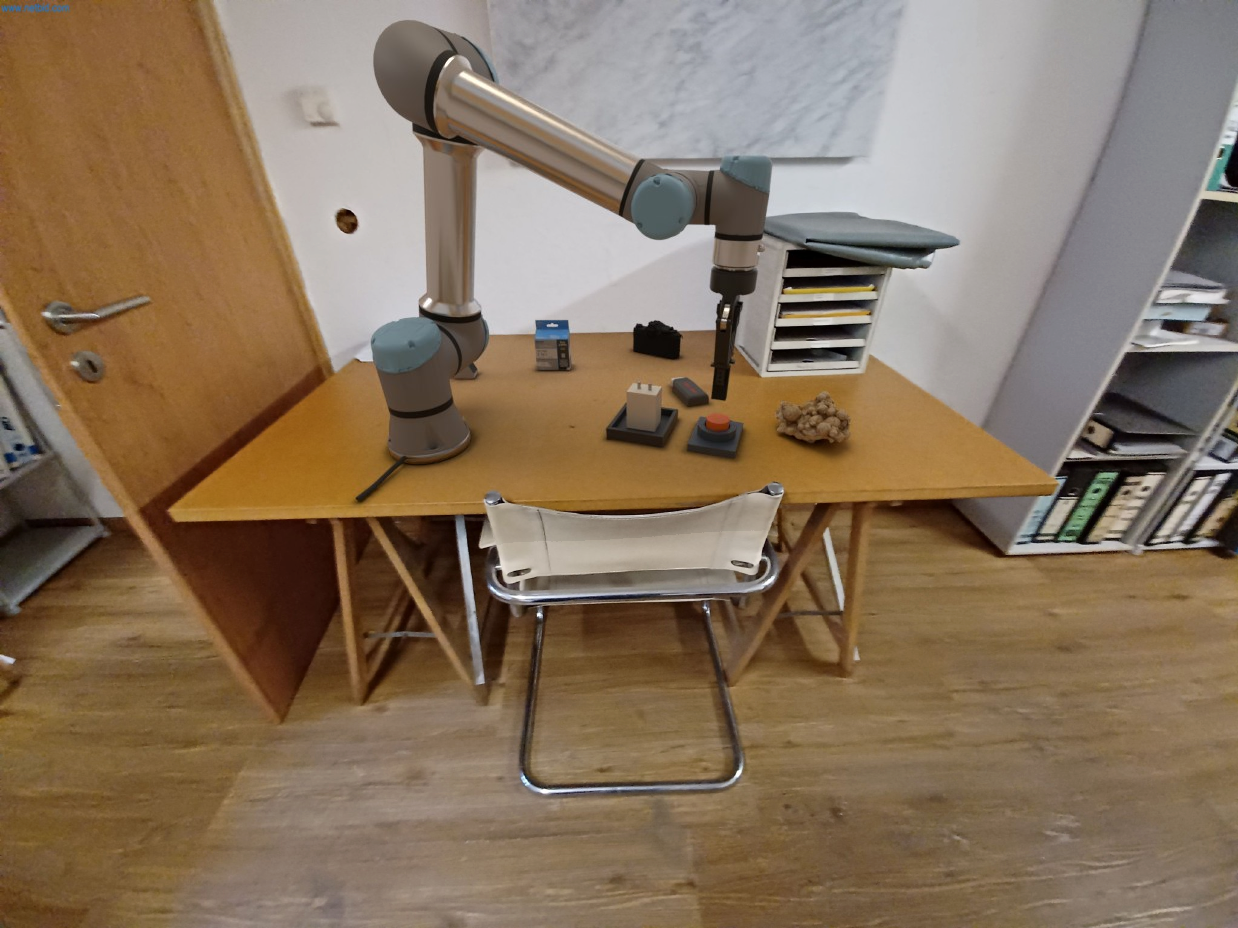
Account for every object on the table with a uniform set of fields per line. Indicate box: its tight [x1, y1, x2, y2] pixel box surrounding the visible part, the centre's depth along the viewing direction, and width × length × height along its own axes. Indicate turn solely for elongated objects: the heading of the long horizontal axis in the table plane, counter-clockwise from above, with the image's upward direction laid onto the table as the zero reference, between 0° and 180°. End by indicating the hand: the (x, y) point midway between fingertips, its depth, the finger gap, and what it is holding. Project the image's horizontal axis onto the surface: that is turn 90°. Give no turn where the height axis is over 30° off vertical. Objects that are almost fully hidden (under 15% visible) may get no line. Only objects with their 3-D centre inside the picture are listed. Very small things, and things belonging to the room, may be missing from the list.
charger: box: [626, 380, 663, 432], centre depth 100 cm, size 4×6×9 cm
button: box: [706, 412, 731, 431], centre depth 97 cm, size 4×4×2 cm
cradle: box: [605, 401, 679, 449], centre depth 102 cm, size 13×12×2 cm
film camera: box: [632, 319, 684, 360], centre depth 140 cm, size 15×10×9 cm, turn 58°
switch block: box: [686, 416, 745, 460], centre depth 98 cm, size 12×9×4 cm
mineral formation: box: [773, 390, 852, 444], centre depth 97 cm, size 8×13×15 cm
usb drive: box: [670, 376, 710, 408], centre depth 116 cm, size 5×12×3 cm, turn 18°
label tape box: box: [534, 319, 572, 371], centre depth 128 cm, size 9×4×12 cm, turn 88°
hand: (718, 398), depth 94 cm, fingers closed
